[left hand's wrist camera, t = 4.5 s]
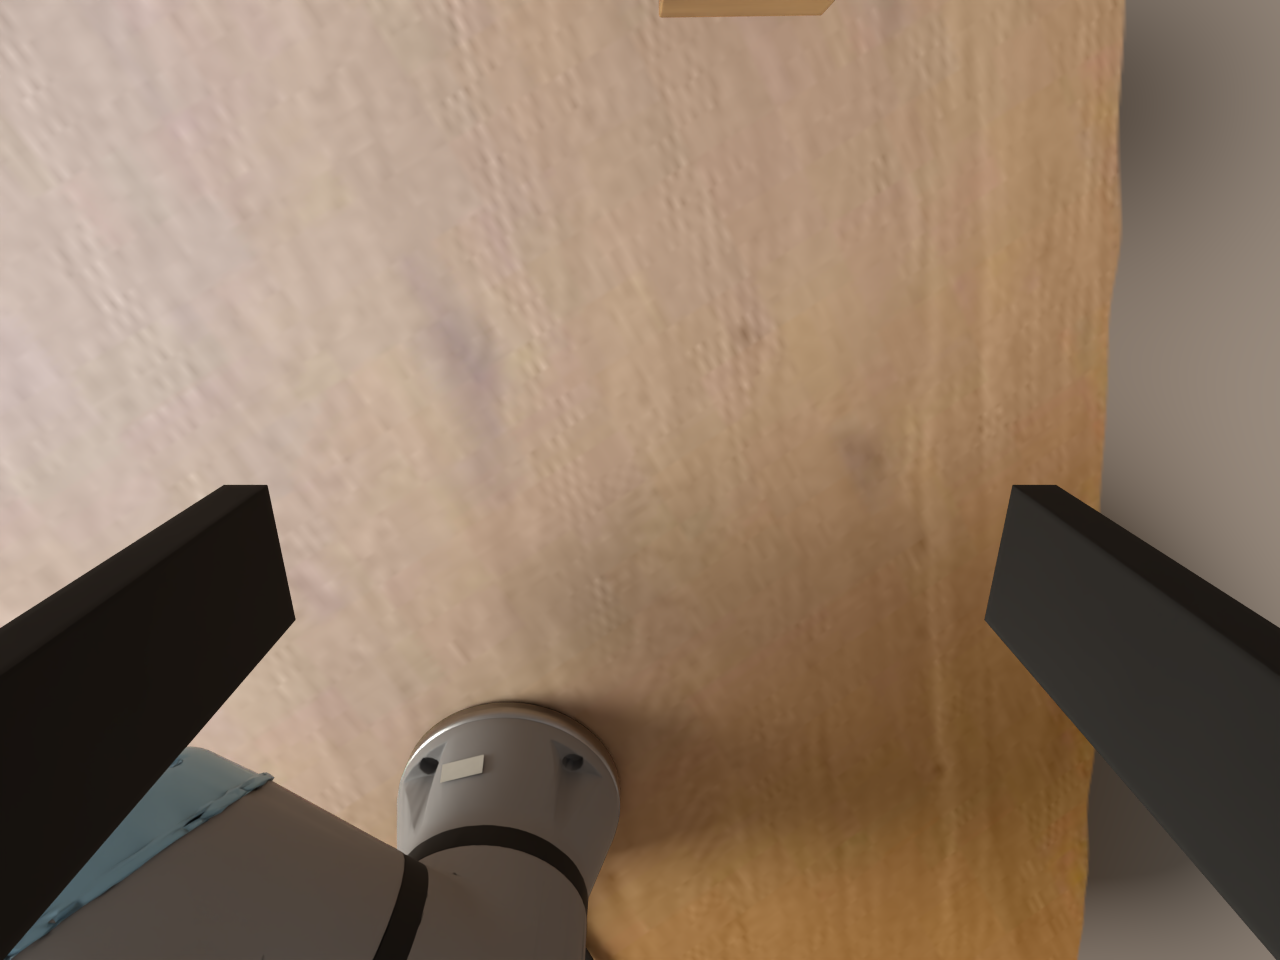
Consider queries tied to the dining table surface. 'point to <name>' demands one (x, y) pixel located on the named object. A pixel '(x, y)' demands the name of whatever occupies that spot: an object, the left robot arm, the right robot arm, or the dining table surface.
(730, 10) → the bar
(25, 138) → the dining table surface
